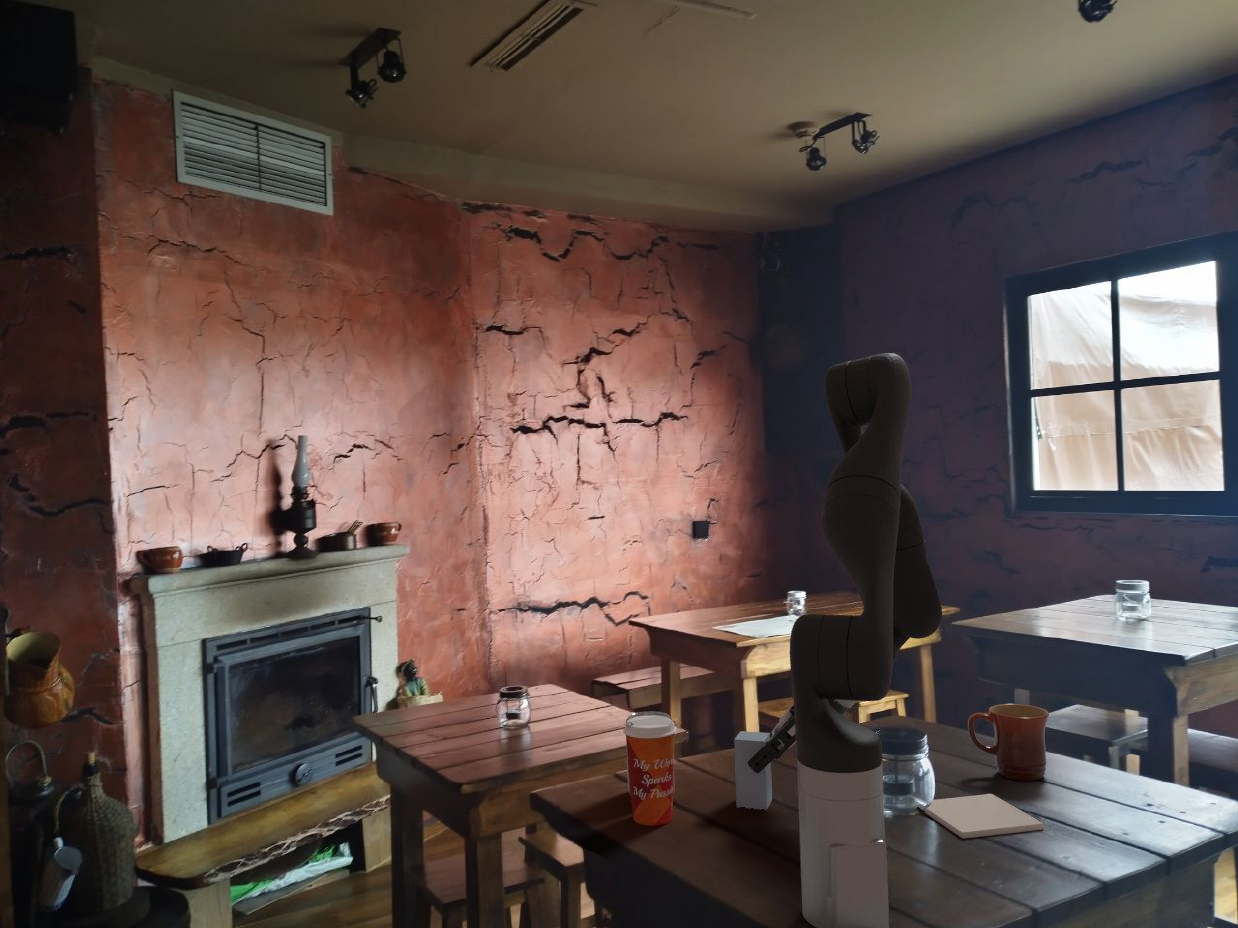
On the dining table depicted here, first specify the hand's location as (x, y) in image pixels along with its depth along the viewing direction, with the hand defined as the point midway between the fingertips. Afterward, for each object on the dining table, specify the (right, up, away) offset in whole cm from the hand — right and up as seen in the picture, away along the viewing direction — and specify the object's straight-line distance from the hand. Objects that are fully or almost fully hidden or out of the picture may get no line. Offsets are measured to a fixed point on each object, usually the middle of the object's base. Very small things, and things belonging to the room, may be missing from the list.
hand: (757, 759), depth 138 cm
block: (0, -7, 0) cm, 7 cm away
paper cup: (-16, -7, -5) cm, 18 cm away
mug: (+42, -6, +9) cm, 43 cm away
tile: (+30, -6, -9) cm, 31 cm away
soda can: (-16, -7, +5) cm, 18 cm away
